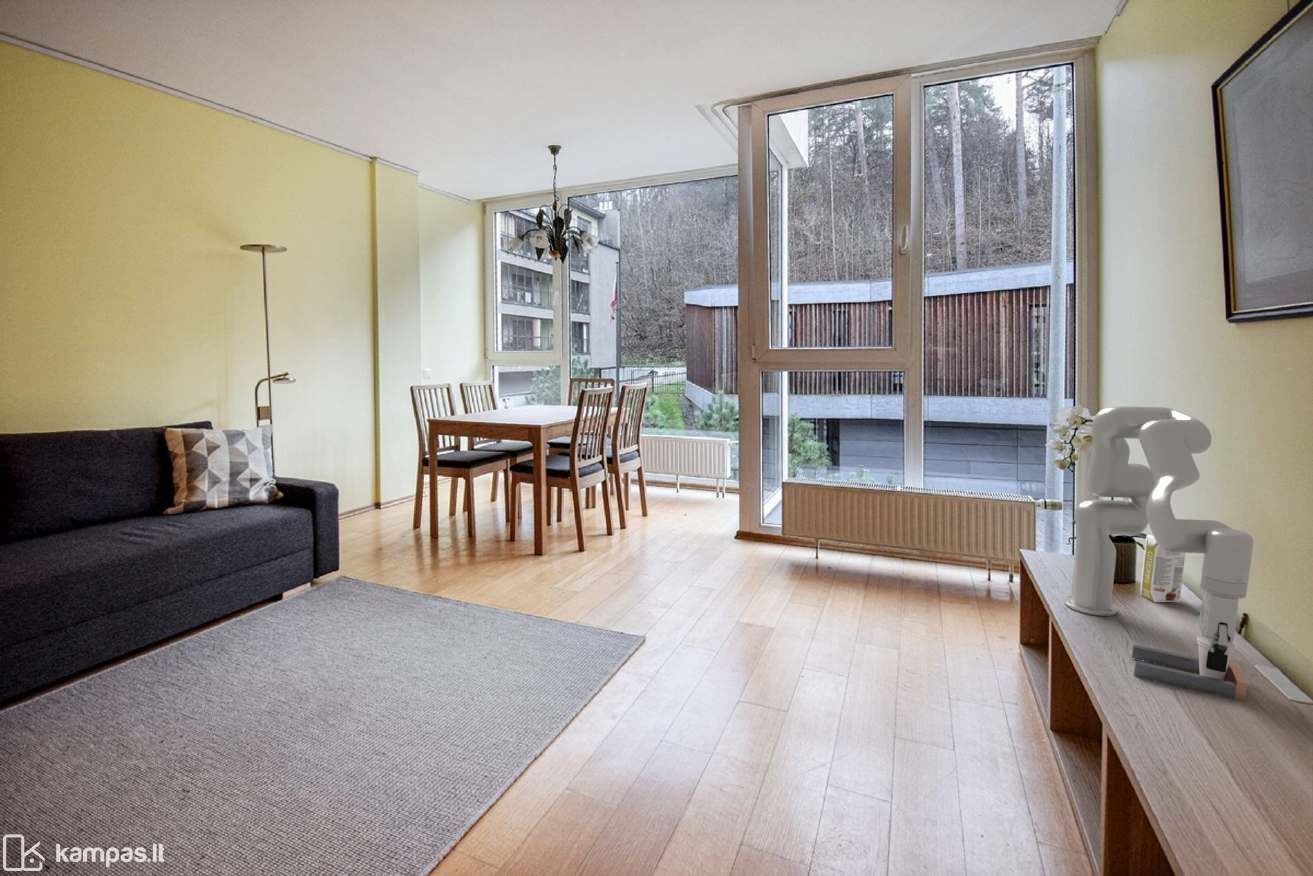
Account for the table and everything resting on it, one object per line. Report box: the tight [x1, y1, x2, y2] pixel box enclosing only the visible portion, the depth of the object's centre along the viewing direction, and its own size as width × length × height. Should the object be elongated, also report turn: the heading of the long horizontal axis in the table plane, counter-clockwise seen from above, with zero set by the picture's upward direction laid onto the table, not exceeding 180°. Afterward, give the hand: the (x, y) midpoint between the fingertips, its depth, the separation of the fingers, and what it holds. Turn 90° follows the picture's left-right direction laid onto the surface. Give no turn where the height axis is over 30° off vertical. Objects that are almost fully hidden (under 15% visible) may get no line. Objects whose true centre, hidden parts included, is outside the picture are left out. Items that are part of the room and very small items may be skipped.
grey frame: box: [1131, 644, 1248, 703], centre depth 142 cm, size 12×19×4 cm, turn 55°
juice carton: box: [1140, 534, 1186, 603], centre depth 187 cm, size 8×9×19 cm
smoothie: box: [1196, 634, 1236, 681], centre depth 138 cm, size 6×6×14 cm
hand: (1213, 663), depth 139 cm, fingers closed on smoothie, 6 cm apart
